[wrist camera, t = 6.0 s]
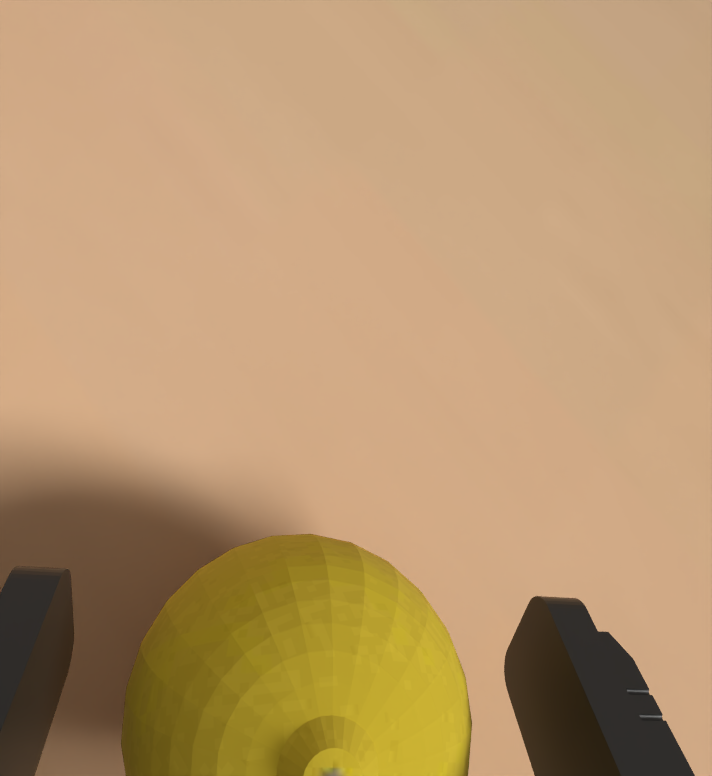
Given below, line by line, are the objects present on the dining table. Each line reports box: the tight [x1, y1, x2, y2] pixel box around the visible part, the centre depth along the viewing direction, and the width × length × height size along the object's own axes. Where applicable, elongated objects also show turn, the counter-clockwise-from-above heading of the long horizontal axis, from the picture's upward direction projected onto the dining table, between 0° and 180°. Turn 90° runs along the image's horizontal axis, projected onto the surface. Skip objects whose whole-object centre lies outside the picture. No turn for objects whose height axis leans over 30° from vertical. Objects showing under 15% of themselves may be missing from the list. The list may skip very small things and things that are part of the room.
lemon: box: [121, 534, 472, 776], centre depth 11 cm, size 6×6×8 cm
